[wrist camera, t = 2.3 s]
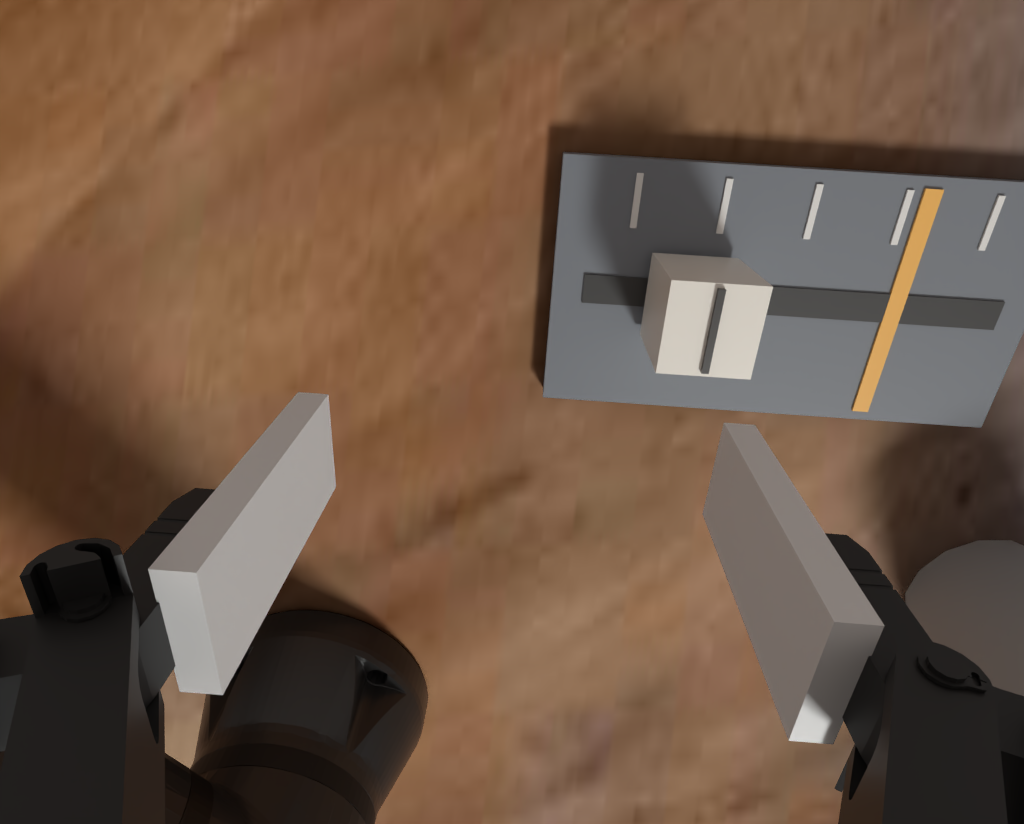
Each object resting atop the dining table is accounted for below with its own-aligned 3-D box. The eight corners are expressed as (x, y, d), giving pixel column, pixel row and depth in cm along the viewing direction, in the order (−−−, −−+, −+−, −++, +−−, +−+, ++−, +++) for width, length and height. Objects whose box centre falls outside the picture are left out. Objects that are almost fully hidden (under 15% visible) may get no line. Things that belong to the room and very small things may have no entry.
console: (543, 387, 34) (543, 398, 33) (562, 151, 29) (563, 153, 28) (967, 417, 34) (982, 428, 33) (1067, 183, 29) (1089, 186, 27)
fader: (639, 334, 31) (656, 374, 26) (652, 252, 29) (672, 281, 25) (720, 339, 31) (751, 381, 26) (738, 258, 29) (775, 288, 25)
